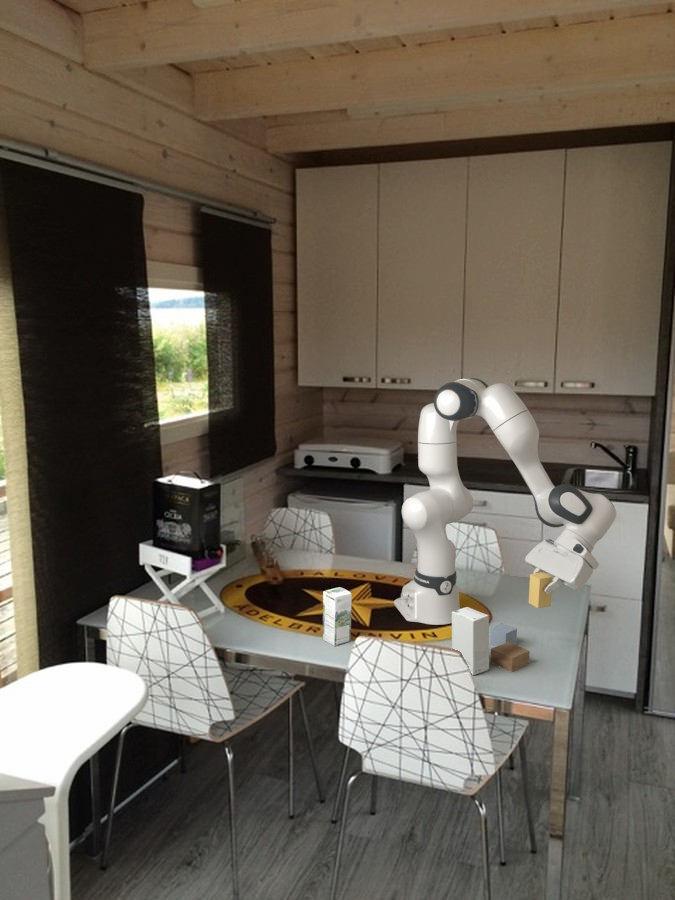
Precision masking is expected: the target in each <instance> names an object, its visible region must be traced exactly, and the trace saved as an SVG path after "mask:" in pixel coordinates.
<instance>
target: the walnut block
mask: <svg viewBox="0 0 675 900" xmlns="http://www.w3.org/2000/svg"><path fill="white" fill-rule="evenodd" d="M490 663H491V664H493V665H495V666H496V667H499V666H500V668H502V669H504V670H506V671H509V672H510V673H512V672H515V671H518V670H519V669H521V668H524V667H526V666H529V664H530V650H528V649H526V648H523V647H522V646H518V645H517V644H516V645H514V644H512V643H509V642H507V643H504V644H502V645H499V646H497V647H494V646H493V648H490V656H489V664H490Z"/></svg>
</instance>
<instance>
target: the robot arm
mask: <svg viewBox="0 0 675 900" xmlns="http://www.w3.org/2000/svg"><path fill="white" fill-rule="evenodd" d="M475 416H479V417H482V418H483V419H484V421H485V422H486V423H487V424H488V426H489V427H490V429H491V430H492V432H493V434H494V436H495V437H496V438H497V440H498V442H499V443H500V445H501V446H502V447H503V449H504V451H505V452H507V454H508V455H509V458H510V459H511V460H512V461H513V463H514V464H515V467H516V469H517V471H518V472H519V474H520V476H521V478H522V479H523V481H524V482H525V485H526V487H527V488H528V491H529V492H530V494H531V495H532V499H533V502H534V507H535V513H536V516H537V518H538V519H539V521H540V522H541V523H542V524H543V525H545V526H548V527H550V528H561V527H563V526H565V527H564V529H563V530H562V531H561V533H560V534H559V535H558V537H556V539H555V540H553V539H550V538H548V539H545V540H542V541H541V542H539V543H538V544H536V545H535V546H534V547H533V549H531V550H530V551H529V552H528V554H526V556H525V559H524V562H525V563H526V564H527V565H528V567H530V568H531V569H533V573H540V572H544V573H546V574H548V575H550V576H552V583H550V584H549V585H545V586H544V587H543V588H542V590H543V591H544V593H546V594H548V595H549V594H550V593H551V592H552V591H554V590H556V589H558V588H560V587H561V586H562V585H565V586H567V587H569V588H571V589H572V590H575V591H577V590H580V589H582V588H583V587H584V586H585V584H586V583H587V582H588V581H589V580H590V578H591V576H593V572H594V570H597V568H598V567H599V566H600V562H599V561H598V560H597V559H596V557H594V555H593V554H592V551H593V550H594V548H595V545H596V543H598V542H599V541H600V540H602V539H603V537H604V536H606V533H607V532H608V531H609V530H610V528H611V527H612V525H613V523H614V522H615V519H616V518H617V510H616V507H615V505H614V504H613V502H612V501H611V500H610V499H609V498H608V497H606V496H605V495H603V494H601V493H591V492H586V491H584V490H582V489H579V488H577V487H575V486H573V485H571V484H566V483H563V484H558V485H556V486H555V485H554V483H553V482H552V480H551V478H550V476H549V475H548V473H547V472H546V470H545V468H544V466H543V464H542V463H541V461H540V457H539V453H538V450H539V449H538V445H539V438H540V430H539V428H538V425H537V423H536V420H535V419H534V417H533V415H532V414H531V412H530V411H529V409H528V407H527V406H526V404H525V403H524V402H523V401H522V399H521V398H520V397H519V395H518V394H517V393H516V392H515V391H514V390H513V389H512V387H510V386H509V385H508V384H506V383H503V382H499V383H498V382H497V383H494V384H491V385H488V384H487V383H486V382H485V381H484V380H481V379H479V378H474V377H472V378H462V379H461V378H460V379H457V380H455V381H451V382H446V383H445V384H444V385H442V386H440V387H439V388H438V389H437V391H436V392H435V394H434V397H433V402H432V403H429V404H428V403H427V404H426V405H425V406H424V407H423V408H422V409H421V411H420V415H419V422H418V429H417V431H418V432H417V452H418V453H417V454H418V455H417V459H418V460H417V462H418V463H417V464H418V469H419V471H420V472H422V474H424V475H425V476H426V477H427V480H428V483H429V490H424V491H420V492H417V493H415V494H413V495H411V496H409V497H408V498H407V499H406V500H405V501H404V502H403V504H402V506H401V517H402V520H403V522H404V525H406V526H407V527H408V528H409V529H410V530H412V532H413V536H414V537H415V541H416V546H417V547H416V549H417V567H414V568H413V572H414V575H413V579H411V580H410V581H409V582H407V583H406V584H404V586H403V587H402V590H401V593H400V597H398V598H396V599H395V600H394V601H393V605H394V606H395V608H396V609H397V610H398V611H399V612H400V614H401V615H402V616H403V618H404V619H405V620H406V621H407V622H413V623H421V624H425V625H431V626H432V625H435V626H437V625H438V626H439V625H443V626H444V625H448V624H449V625H450V624H452V612H453V611H456V610H459V609H462V607H461V606H460V593H459V591H460V590H459V587H458V585H457V578H458V577H457V571H456V552H457V551H456V550H457V549H456V546H455V544H454V542H453V541H452V540H450V539H449V538H448V536H447V530H446V528H447V525H448V524H452V523H456V522H459V521H460V520H462V519H464V518H466V516H468V515H469V514H470V513H471V512H472V511H473V507H474V498H473V495H472V494H471V492H470V490H469V489H468V488H467V487H466V486H464V483H463V482H462V479H461V477H460V473H459V469H458V450H457V448H458V447H457V442H458V441H457V439H458V438H457V428H458V424H459V422H460V421H462V420H463V421H464V420H468V419H472V418H473V417H475ZM528 583H529V585H530V581H528ZM552 593H553V592H552Z"/></svg>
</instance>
